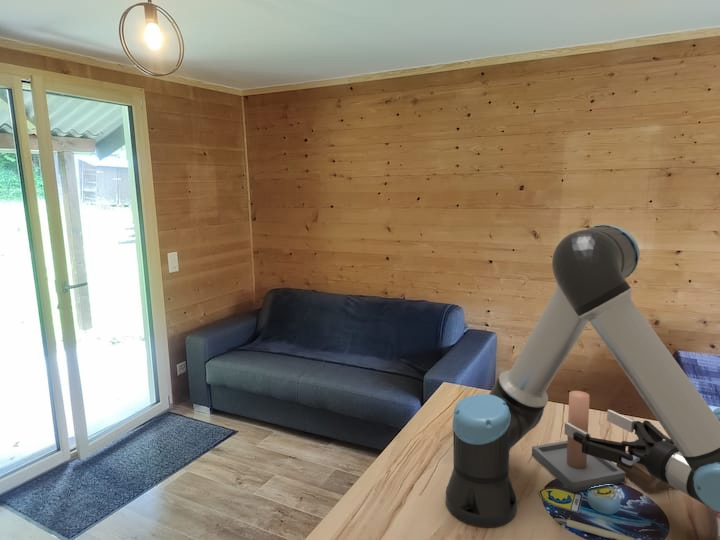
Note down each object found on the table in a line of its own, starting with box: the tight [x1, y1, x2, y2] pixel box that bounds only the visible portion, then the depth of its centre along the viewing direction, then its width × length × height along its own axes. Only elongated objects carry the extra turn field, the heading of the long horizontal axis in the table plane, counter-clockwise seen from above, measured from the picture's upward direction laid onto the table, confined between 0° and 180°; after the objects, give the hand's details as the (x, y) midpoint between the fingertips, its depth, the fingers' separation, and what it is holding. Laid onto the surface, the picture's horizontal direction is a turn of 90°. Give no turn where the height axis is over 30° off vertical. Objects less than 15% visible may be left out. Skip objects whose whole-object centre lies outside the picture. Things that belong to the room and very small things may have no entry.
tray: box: [531, 440, 626, 494], centre depth 118 cm, size 14×16×2 cm
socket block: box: [615, 450, 675, 494], centre depth 113 cm, size 10×10×4 cm
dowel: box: [566, 390, 591, 469], centre depth 116 cm, size 4×4×18 cm
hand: (587, 421), depth 114 cm, fingers open, 13 cm apart
